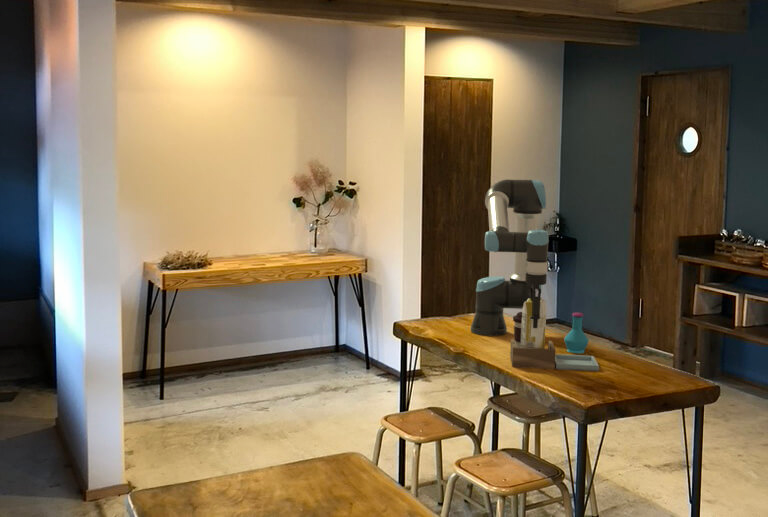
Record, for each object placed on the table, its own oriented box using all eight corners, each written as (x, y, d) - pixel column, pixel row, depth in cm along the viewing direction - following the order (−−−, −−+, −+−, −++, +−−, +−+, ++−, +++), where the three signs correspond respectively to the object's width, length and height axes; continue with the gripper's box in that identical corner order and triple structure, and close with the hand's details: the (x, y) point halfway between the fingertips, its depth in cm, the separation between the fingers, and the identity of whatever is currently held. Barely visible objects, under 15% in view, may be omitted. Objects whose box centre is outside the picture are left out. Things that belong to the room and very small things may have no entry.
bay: (510, 356, 323) (511, 338, 322) (550, 358, 322) (551, 340, 321) (512, 367, 309) (513, 348, 308) (554, 369, 308) (555, 349, 307)
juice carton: (540, 366, 310) (543, 300, 306) (518, 363, 313) (521, 298, 309) (544, 359, 319) (548, 296, 315) (523, 357, 321) (526, 294, 318)
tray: (552, 359, 321) (552, 354, 321) (593, 361, 320) (593, 355, 319) (556, 369, 307) (556, 363, 307) (598, 371, 306) (599, 365, 306)
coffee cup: (537, 355, 326) (539, 316, 324) (510, 353, 328) (512, 315, 326) (537, 349, 336) (539, 311, 334) (512, 347, 338) (514, 310, 336)
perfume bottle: (559, 350, 334) (561, 313, 332) (571, 347, 341) (573, 310, 339) (580, 355, 328) (582, 316, 326) (592, 351, 335) (594, 313, 333)
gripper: (523, 267, 322) (520, 325, 325) (527, 277, 300) (524, 339, 303) (543, 268, 321) (540, 326, 325) (549, 278, 299) (546, 340, 303)
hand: (533, 333), depth 314 cm, fingers closed on juice carton, 10 cm apart
